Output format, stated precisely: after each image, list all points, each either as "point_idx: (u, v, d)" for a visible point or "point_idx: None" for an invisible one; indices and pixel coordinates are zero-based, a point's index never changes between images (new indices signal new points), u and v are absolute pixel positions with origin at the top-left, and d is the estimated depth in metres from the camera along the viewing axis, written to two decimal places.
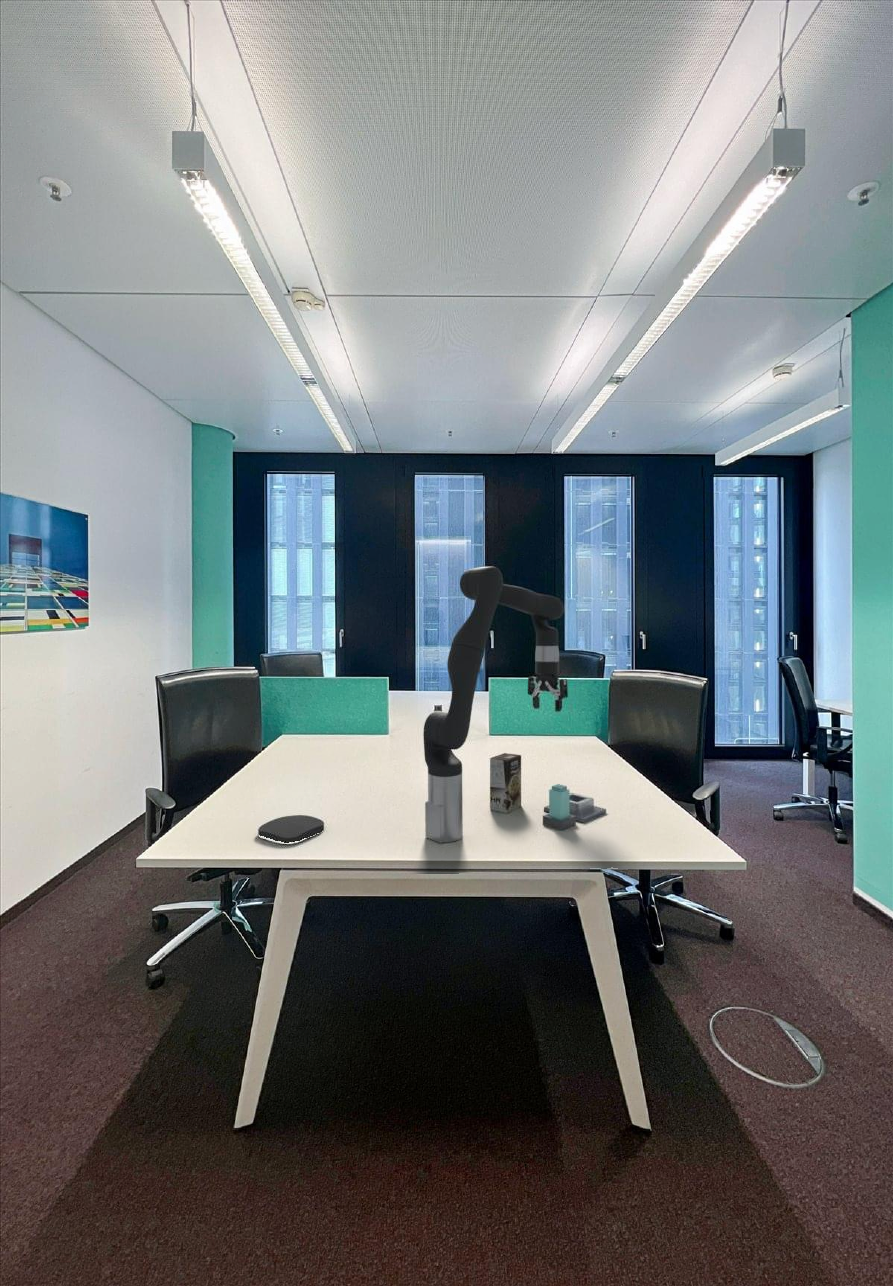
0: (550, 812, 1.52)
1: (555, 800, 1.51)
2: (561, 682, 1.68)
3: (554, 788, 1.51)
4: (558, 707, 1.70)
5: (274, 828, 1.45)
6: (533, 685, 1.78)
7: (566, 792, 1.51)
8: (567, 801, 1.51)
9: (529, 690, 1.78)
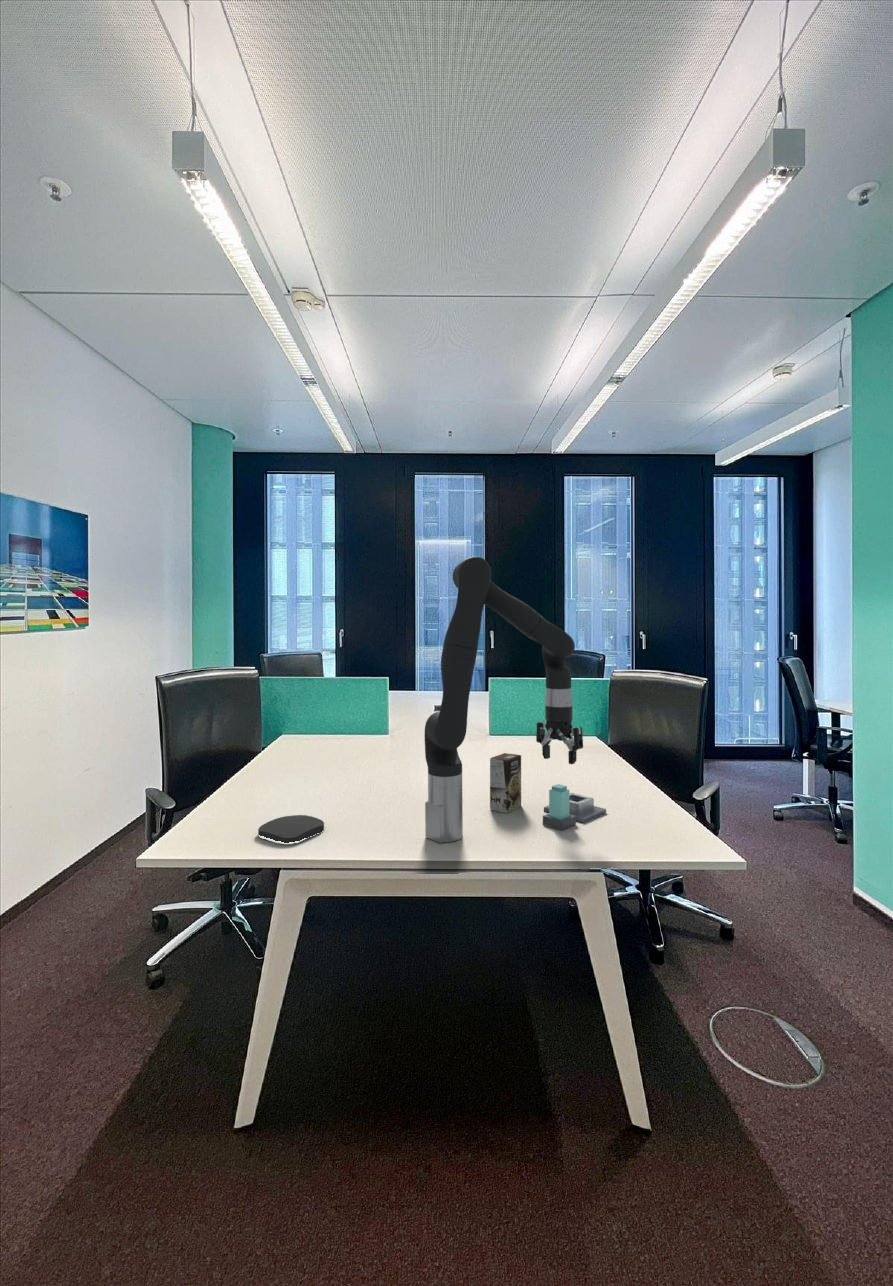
0: (550, 812, 1.52)
1: (555, 800, 1.51)
2: (575, 731, 1.46)
3: (554, 788, 1.51)
4: (572, 759, 1.48)
5: (274, 828, 1.45)
6: (542, 731, 1.56)
7: (566, 792, 1.51)
8: (567, 801, 1.51)
9: (538, 737, 1.56)
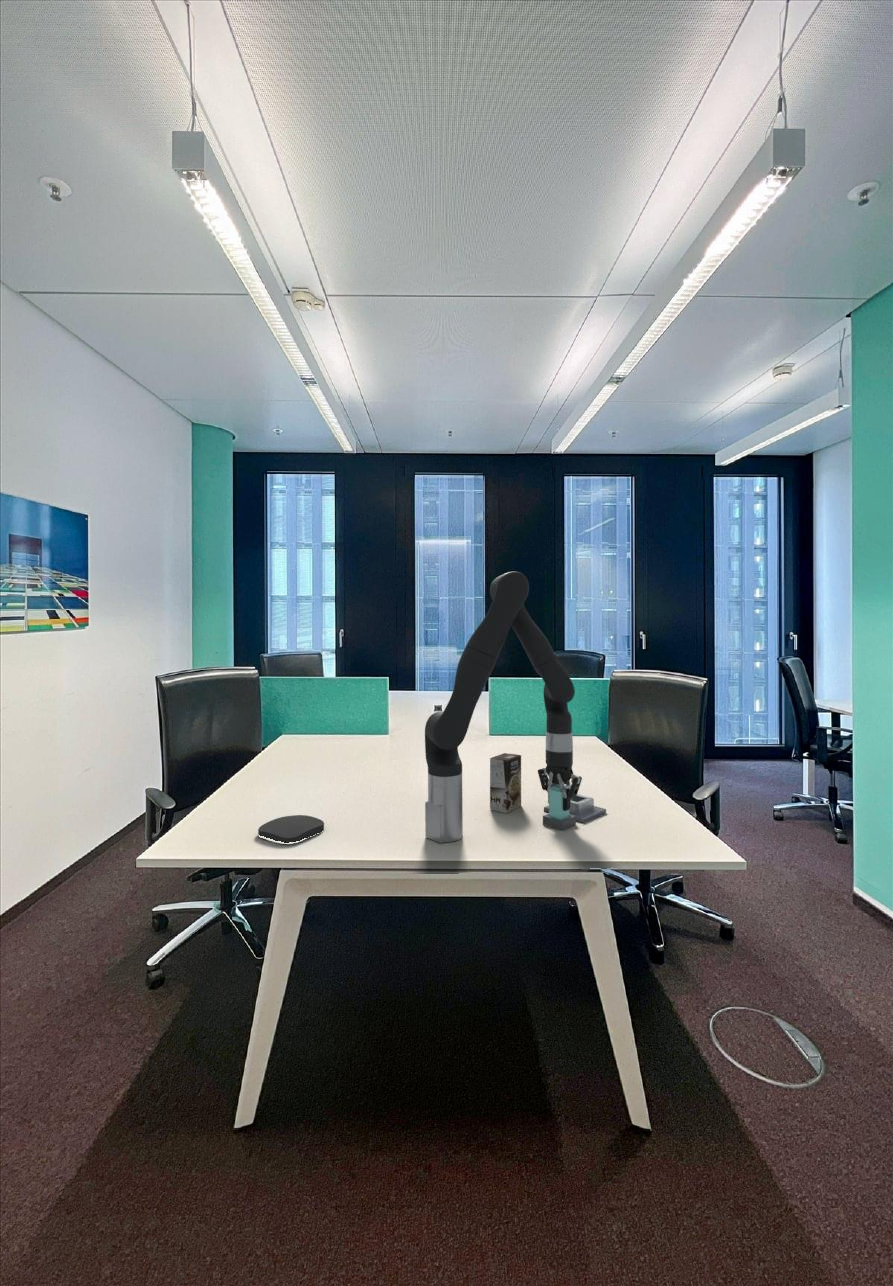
0: (550, 812, 1.52)
1: (555, 800, 1.51)
2: (575, 781, 1.47)
3: (554, 788, 1.51)
4: (566, 806, 1.50)
5: (274, 828, 1.45)
6: (546, 778, 1.56)
7: None
8: None
9: (543, 785, 1.55)
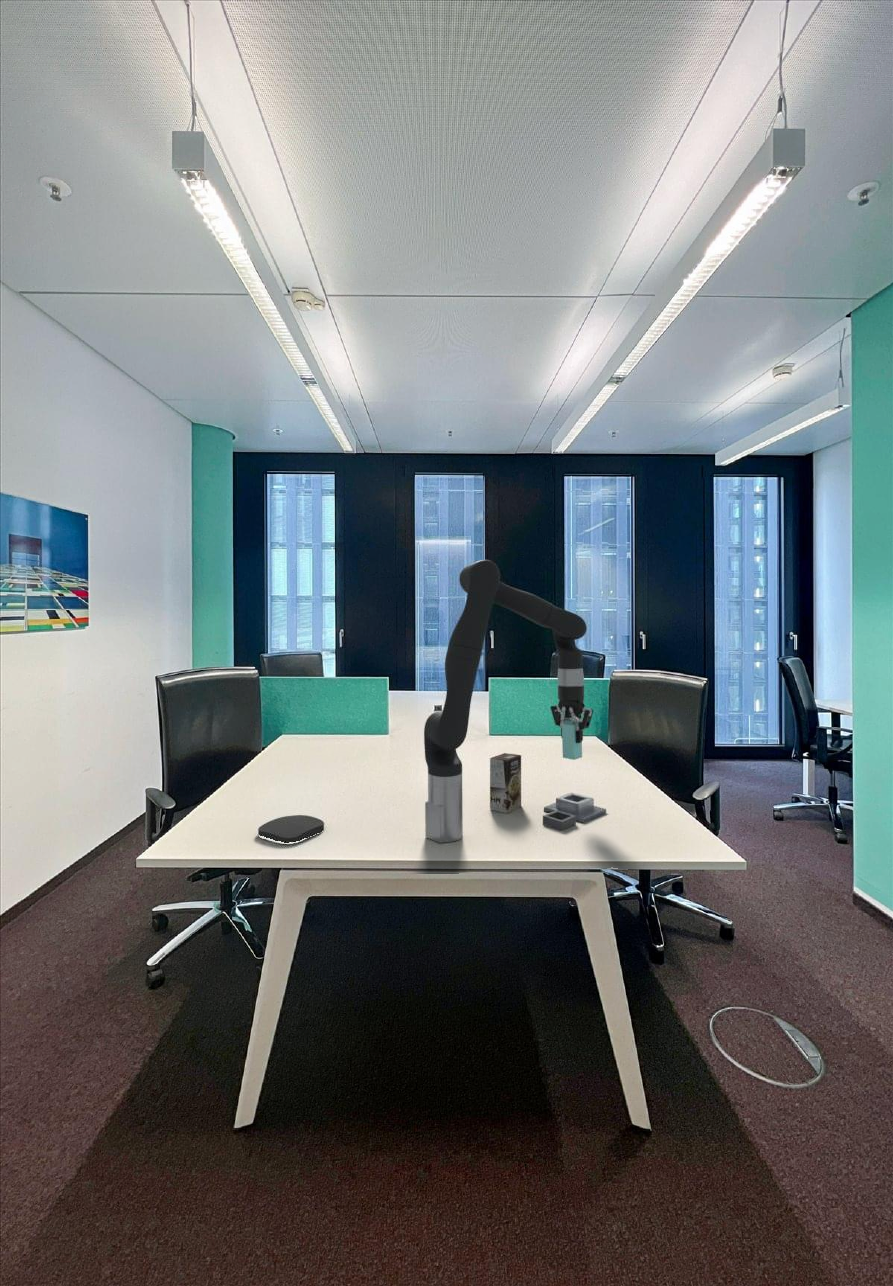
0: (563, 745, 1.58)
1: (568, 733, 1.57)
2: (586, 713, 1.53)
3: (567, 722, 1.58)
4: (579, 738, 1.56)
5: (274, 828, 1.45)
6: (558, 714, 1.62)
7: None
8: None
9: (556, 720, 1.61)
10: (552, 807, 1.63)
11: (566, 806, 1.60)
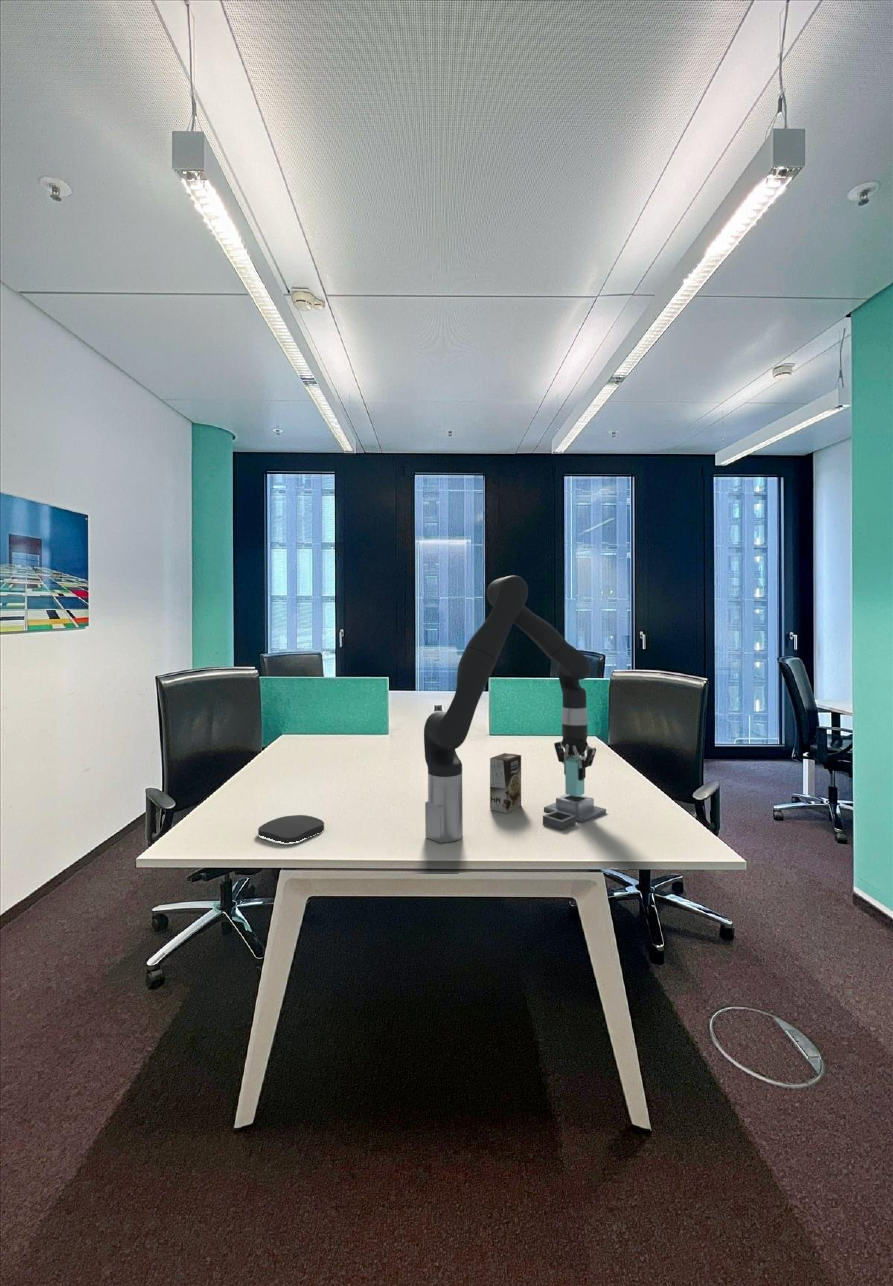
0: (566, 782, 1.62)
1: (571, 770, 1.61)
2: (590, 752, 1.57)
3: (570, 759, 1.62)
4: (581, 776, 1.60)
5: (274, 828, 1.45)
6: (562, 750, 1.66)
7: None
8: None
9: (559, 757, 1.65)
10: (552, 807, 1.63)
11: (566, 806, 1.60)
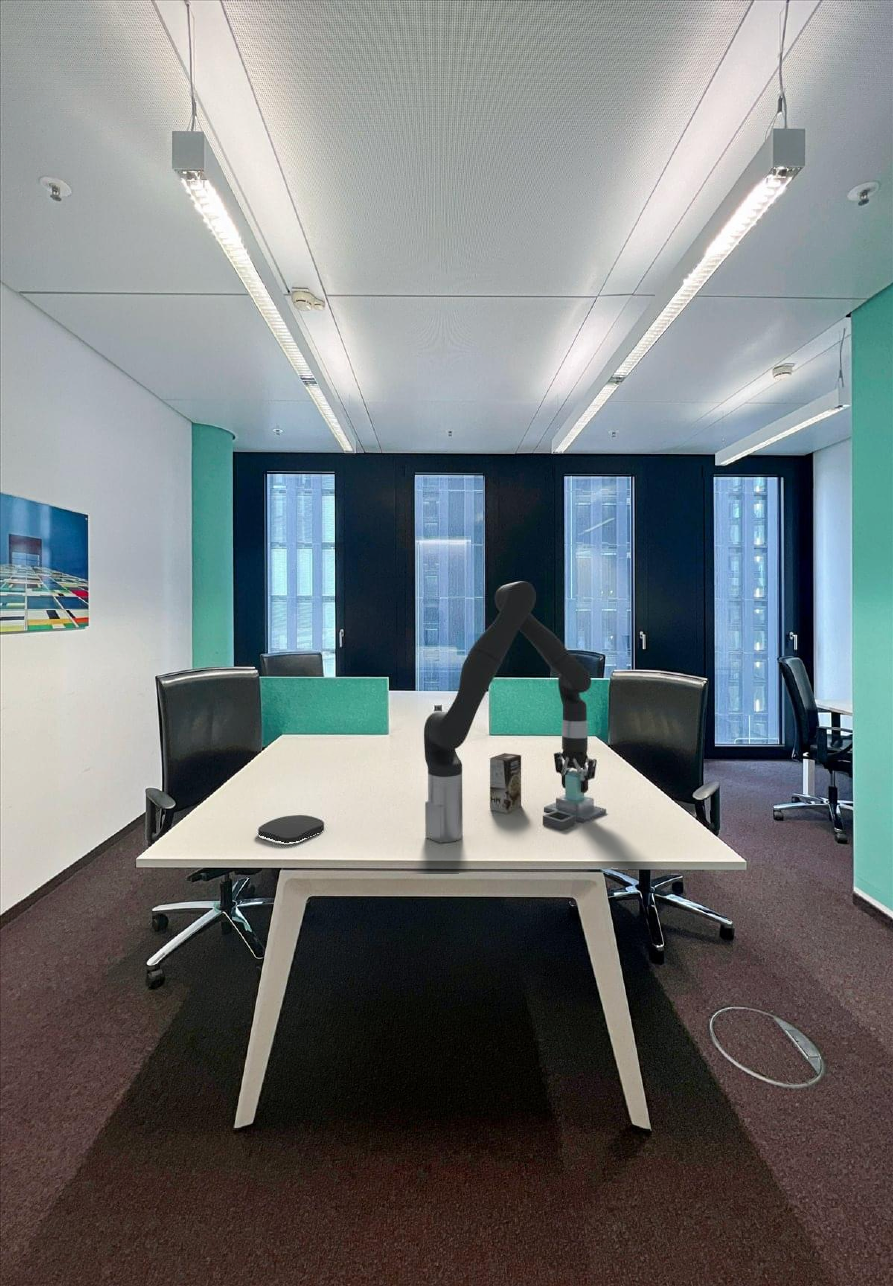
0: (566, 796, 1.62)
1: (571, 784, 1.61)
2: (590, 763, 1.57)
3: (570, 774, 1.62)
4: (584, 788, 1.59)
5: (274, 828, 1.45)
6: (560, 761, 1.66)
7: None
8: None
9: (557, 768, 1.65)
10: (552, 807, 1.63)
11: (566, 806, 1.60)
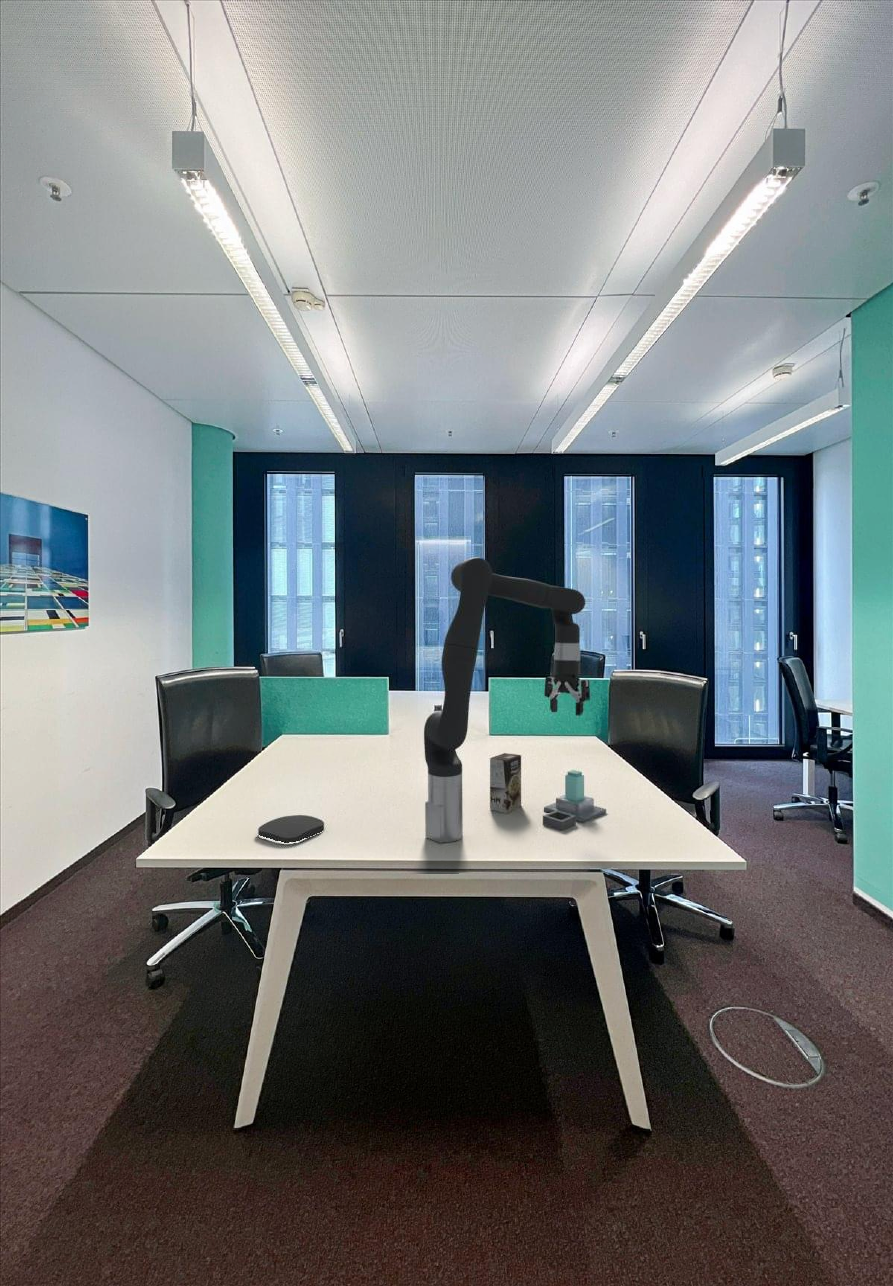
0: (566, 796, 1.62)
1: (571, 784, 1.61)
2: (583, 683, 1.52)
3: (570, 774, 1.62)
4: (579, 711, 1.54)
5: (274, 828, 1.45)
6: (551, 686, 1.62)
7: (581, 777, 1.61)
8: (582, 786, 1.62)
9: (546, 692, 1.62)
10: (552, 807, 1.63)
11: (566, 806, 1.60)
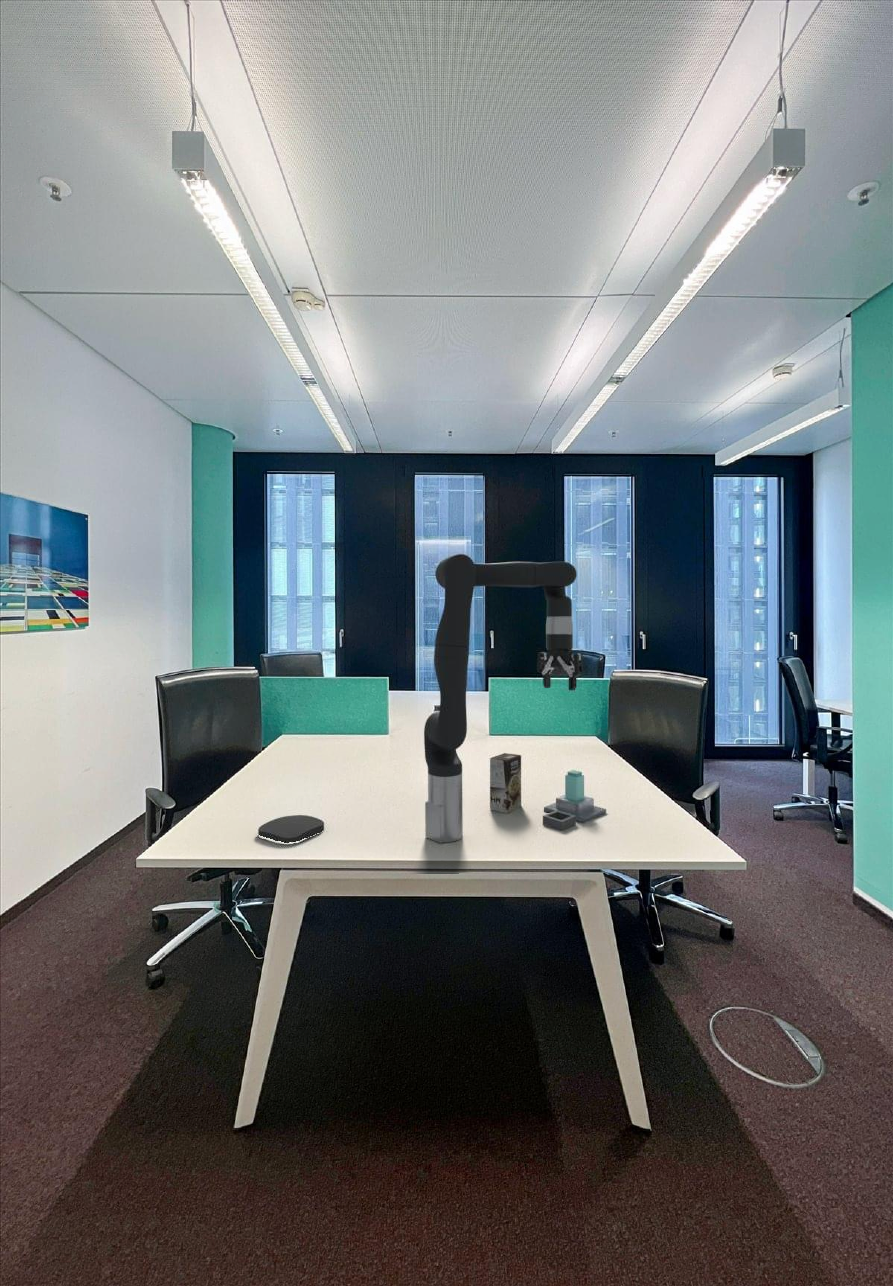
0: (566, 796, 1.62)
1: (571, 784, 1.61)
2: (576, 657, 1.49)
3: (570, 774, 1.62)
4: (572, 685, 1.51)
5: (274, 828, 1.45)
6: (543, 662, 1.59)
7: (581, 777, 1.61)
8: (582, 786, 1.62)
9: (539, 667, 1.58)
10: (552, 807, 1.63)
11: (566, 806, 1.60)
